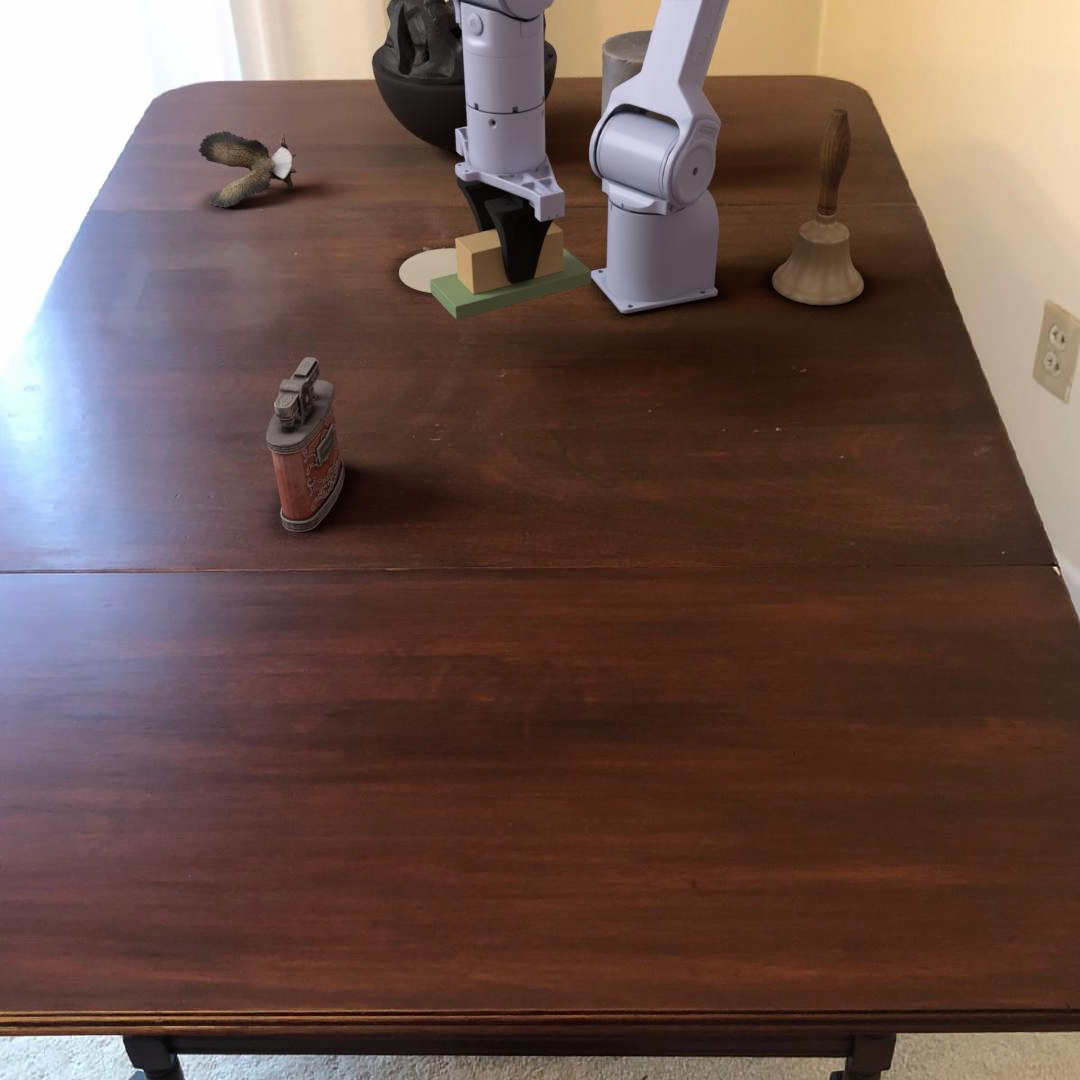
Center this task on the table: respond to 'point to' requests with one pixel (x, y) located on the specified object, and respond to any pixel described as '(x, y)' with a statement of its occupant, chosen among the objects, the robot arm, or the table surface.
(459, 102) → the bowl of black rocks
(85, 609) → the table surface
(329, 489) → the lighter
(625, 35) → the pillar candle
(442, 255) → the spill
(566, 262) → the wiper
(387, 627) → the table surface
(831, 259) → the hand bell
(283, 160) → the eagle figurine
